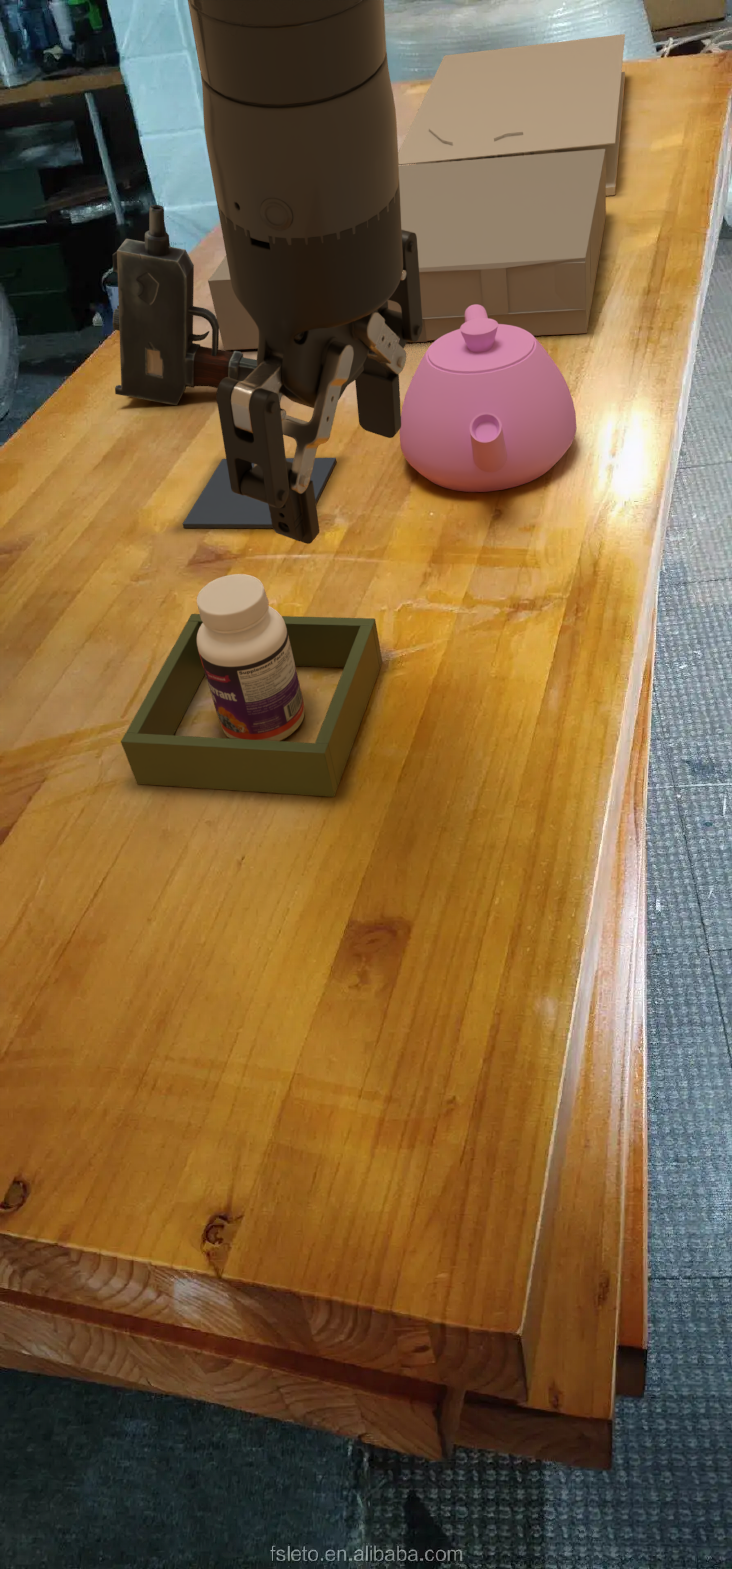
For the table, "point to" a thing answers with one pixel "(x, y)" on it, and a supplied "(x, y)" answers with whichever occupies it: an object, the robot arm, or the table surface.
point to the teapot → (486, 408)
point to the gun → (165, 322)
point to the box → (487, 244)
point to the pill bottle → (248, 660)
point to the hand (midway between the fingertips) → (340, 481)
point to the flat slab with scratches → (523, 104)
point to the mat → (242, 500)
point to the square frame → (257, 761)
